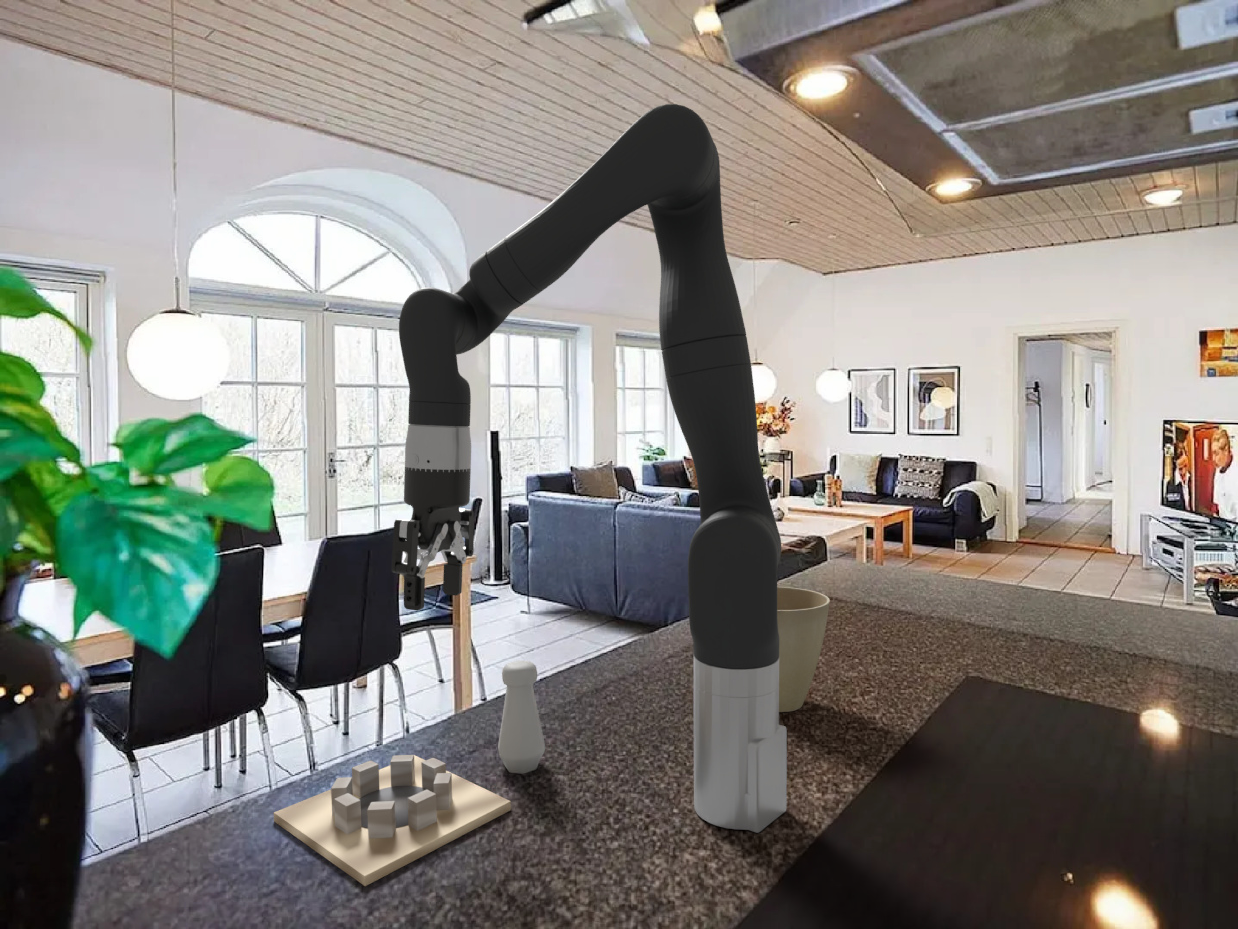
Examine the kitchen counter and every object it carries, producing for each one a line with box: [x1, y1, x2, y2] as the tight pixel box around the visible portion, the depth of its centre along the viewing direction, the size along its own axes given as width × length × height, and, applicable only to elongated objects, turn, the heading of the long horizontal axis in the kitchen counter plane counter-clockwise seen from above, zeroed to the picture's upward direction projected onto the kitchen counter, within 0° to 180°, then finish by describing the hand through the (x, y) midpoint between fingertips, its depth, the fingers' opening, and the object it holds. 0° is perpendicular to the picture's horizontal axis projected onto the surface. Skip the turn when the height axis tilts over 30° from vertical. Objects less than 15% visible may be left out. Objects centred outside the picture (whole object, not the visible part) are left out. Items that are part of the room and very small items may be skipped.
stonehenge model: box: [273, 754, 512, 887], centre depth 87 cm, size 18×18×4 cm
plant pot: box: [777, 586, 831, 713], centre depth 117 cm, size 15×15×16 cm
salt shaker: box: [497, 660, 546, 775], centre depth 98 cm, size 6×6×13 cm
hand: (433, 601), depth 94 cm, fingers open, 8 cm apart
